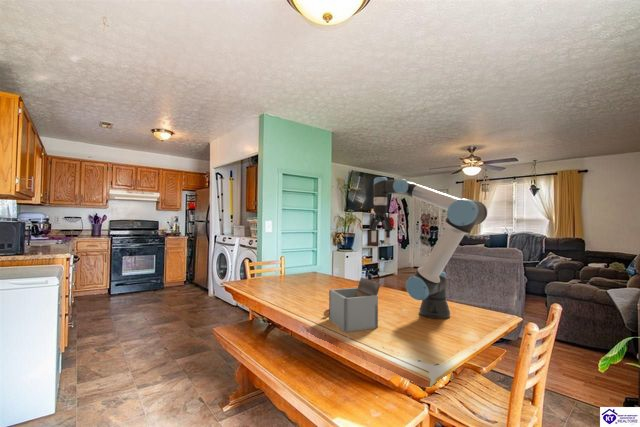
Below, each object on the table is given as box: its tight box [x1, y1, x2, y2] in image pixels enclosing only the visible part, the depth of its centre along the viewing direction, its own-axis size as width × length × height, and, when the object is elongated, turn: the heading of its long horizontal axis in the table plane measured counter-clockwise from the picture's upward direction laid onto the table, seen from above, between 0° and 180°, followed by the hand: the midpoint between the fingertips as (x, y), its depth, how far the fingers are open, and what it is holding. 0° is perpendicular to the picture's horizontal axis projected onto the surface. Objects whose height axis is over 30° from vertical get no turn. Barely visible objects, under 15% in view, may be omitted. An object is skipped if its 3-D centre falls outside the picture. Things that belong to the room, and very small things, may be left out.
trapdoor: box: [355, 277, 381, 297], centre depth 145 cm, size 18×14×4 cm
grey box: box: [328, 287, 379, 333], centre depth 143 cm, size 16×18×14 cm
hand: (380, 242), depth 168 cm, fingers open, 13 cm apart
